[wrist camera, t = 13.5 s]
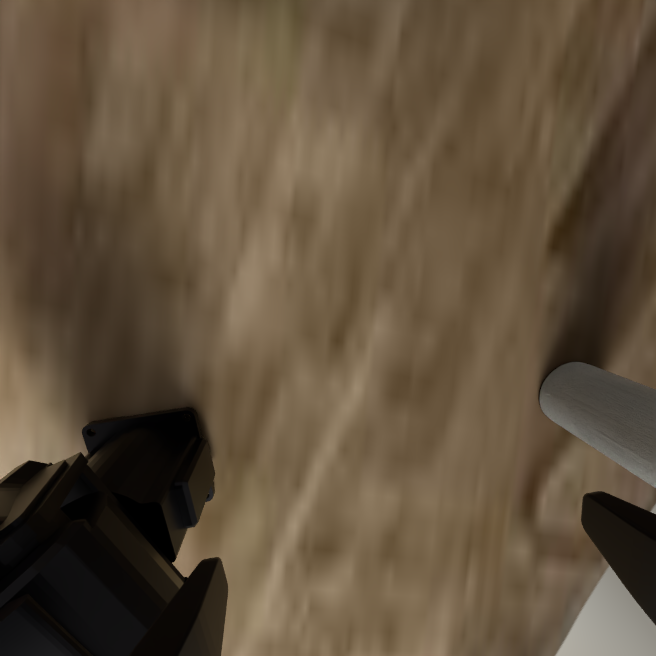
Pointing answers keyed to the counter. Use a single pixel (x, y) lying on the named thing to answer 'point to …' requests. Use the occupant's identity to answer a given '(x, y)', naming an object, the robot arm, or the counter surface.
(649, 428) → the planter
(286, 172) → the counter surface
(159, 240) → the counter surface
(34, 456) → the counter surface
